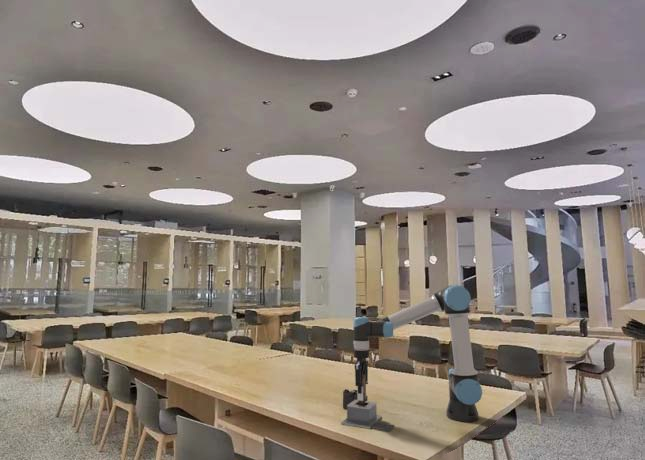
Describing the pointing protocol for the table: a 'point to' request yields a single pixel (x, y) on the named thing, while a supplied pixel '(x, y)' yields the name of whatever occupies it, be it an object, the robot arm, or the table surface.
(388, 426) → the rubber mat
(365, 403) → the walnut dowel
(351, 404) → the box
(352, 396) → the camera
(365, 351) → the robot arm
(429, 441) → the table surface
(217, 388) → the table surface
